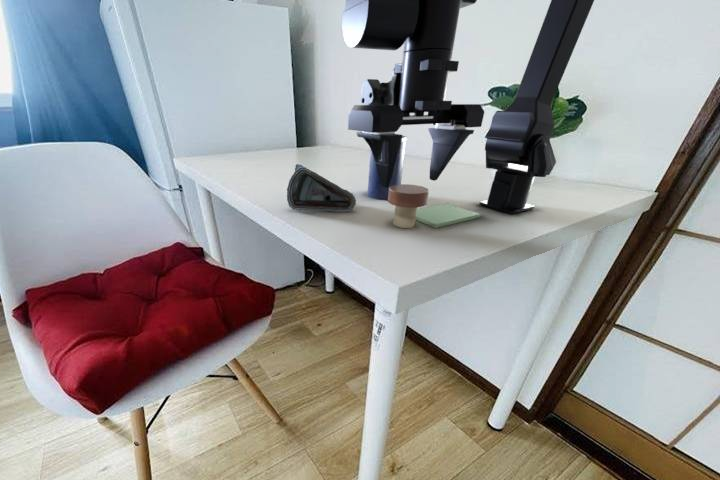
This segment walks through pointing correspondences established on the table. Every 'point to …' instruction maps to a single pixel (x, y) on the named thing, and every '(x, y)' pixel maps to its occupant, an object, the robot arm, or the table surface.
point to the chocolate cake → (317, 193)
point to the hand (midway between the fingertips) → (409, 183)
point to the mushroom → (407, 203)
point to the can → (374, 182)
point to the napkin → (444, 215)
